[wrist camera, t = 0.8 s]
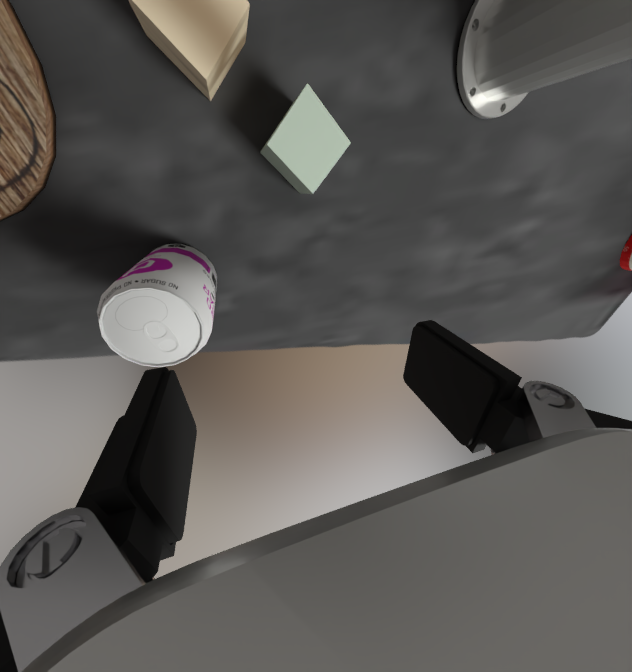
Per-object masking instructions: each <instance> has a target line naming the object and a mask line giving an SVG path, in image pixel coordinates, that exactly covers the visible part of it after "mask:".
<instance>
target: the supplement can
mask: <svg viewBox="0 0 632 672" xmlns="http://www.w3.org/2000/svg"><path fill="white" fill-rule="evenodd" d="M216 289H217V275H216V272H215V269H214V267H213V264H212V263H211V262H210V261H209V260H208V258H207V257H206V256H205V255H204V254H202V253H201V252H199V251H198V250H196V249H195V248H193V247H189V246H186V245H183V244H166V245H164V246H161V247H159V248H156V249H154V250H153V251H152V252H151V253H150V254H148V255H147V256H146V257H145V258H143V259H142V260H141V261H140V262H138V263H137V264H136V265H135V266H133V267H132V268H131V269H130V270H129V271H127V272H126V273H125V274H124V275H122V276H121V277H120V278H119V279H117V280H116V281H115V282H114V283H113V284H112V285H111V286H110V287H109V288H108V289H107V290H106V291H105V292H104V293H103V294H102V295H101V299H100V302H99V306H98V309H97V314H98V318H99V325H100V330H101V334H102V337H103V338H104V340H105V341H106V343H107V344H108V345H109V347H110V348H111V349H112V350H113V351H114V352H116V353H117V354H119V355H120V356H121V357H123V358H124V359H126V360H129V361H132V362H134V363H137V364H140V365H144V366H153V367H164V366H171V365H176V364H178V363H180V362H182V361H184V360H187V359H188V358H190V357H191V356H192V355H194V354H196V353H197V352H198V351H199V350H200V349H201V348H202V347H203V346H204V345H206V343H207V341H208V339H209V336H210V334H211V332H212V325H213V316H214V307H215V298H216Z"/></svg>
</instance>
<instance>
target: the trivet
mask: <svg viewBox="0 0 632 672" xmlns="http://www.w3.org/2000/svg"><path fill="white" fill-rule="evenodd" d="M55 158H56V114H55V111H54V107H53V104H52V100H51V96H50V93H49V89H48V85H47V82H46V78H45V75H44V71H43V67H42V64H41V62H40V60H39V58H38V56H37V54H36V52H35V50H34V48H33V46H32V44H31V42H30V40H29V38H28V36H27V34H26V32H25V30H24V28H23V26H22V24H21V22H20V20H19V18H18V16H17V14H16V12H15V10H14V8H13V6H12V5H11V3H10V2H9V0H0V221H2V220H4V219H6V218H8V217H10V216H12V215H14V214H17V213H19V212H21V211H23V210H24V209H25V208H26V207H27V206H28V205H29V204H30V203H31V202H32V201H33V200H34V199H35V198H36V196H37V195H38V194H39V193H40V192H41V191H42V190H43V189H44V188H45V186H46V183H47V180H48V177H49V175H50V172H51V169H52V166H53V163H54V160H55Z"/></svg>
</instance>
